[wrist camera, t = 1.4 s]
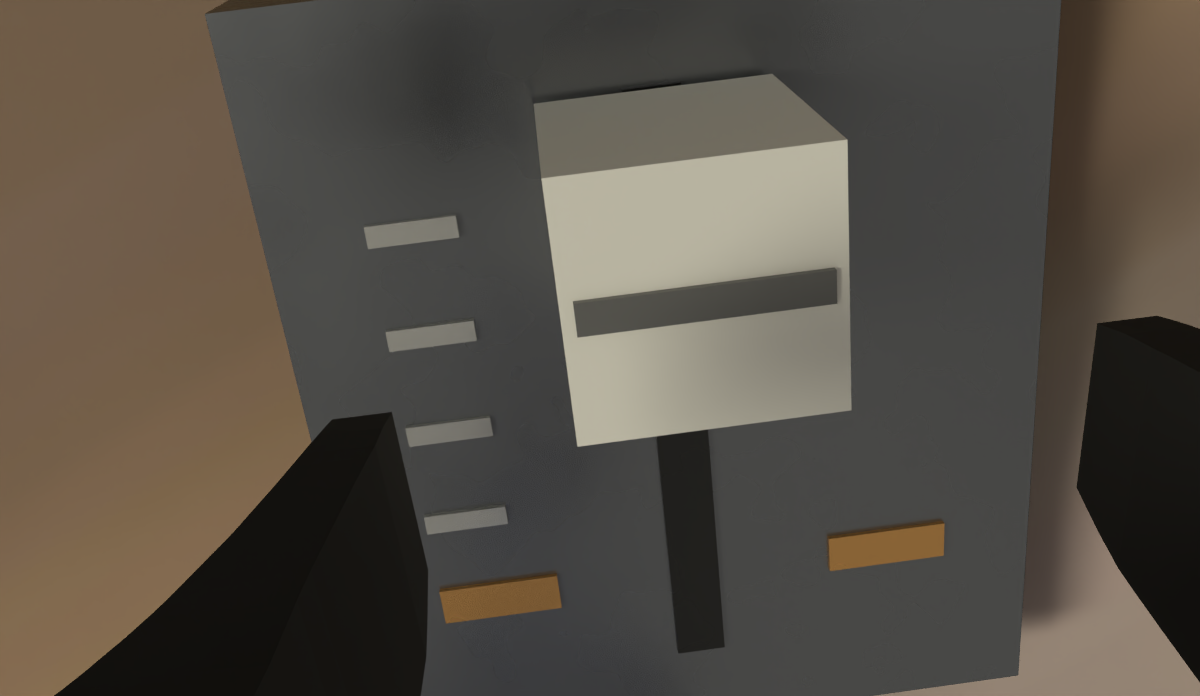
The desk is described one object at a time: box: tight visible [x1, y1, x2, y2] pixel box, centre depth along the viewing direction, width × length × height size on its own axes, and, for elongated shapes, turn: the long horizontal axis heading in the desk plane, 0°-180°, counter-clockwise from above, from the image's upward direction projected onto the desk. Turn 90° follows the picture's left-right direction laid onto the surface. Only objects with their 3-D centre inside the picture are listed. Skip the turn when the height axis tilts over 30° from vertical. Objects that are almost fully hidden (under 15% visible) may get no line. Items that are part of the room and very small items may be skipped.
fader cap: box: [534, 74, 851, 447], centre depth 17 cm, size 4×4×5 cm
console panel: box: [205, 0, 1061, 696], centre depth 22 cm, size 16×14×2 cm
